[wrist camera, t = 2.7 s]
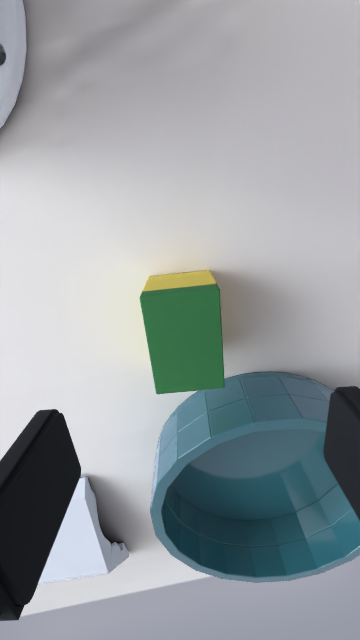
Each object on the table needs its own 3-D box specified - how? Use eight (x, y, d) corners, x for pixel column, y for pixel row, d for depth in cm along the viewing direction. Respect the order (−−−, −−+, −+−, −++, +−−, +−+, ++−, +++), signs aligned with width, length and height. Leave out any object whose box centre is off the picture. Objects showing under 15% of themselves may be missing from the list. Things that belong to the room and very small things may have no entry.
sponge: (149, 276, 17) (139, 296, 13) (210, 269, 17) (219, 288, 13) (161, 355, 20) (156, 394, 15) (215, 350, 19) (224, 388, 15)
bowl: (142, 382, 20) (131, 432, 16) (374, 361, 20) (433, 407, 15) (169, 524, 27) (167, 588, 22) (343, 512, 26) (378, 575, 22)
